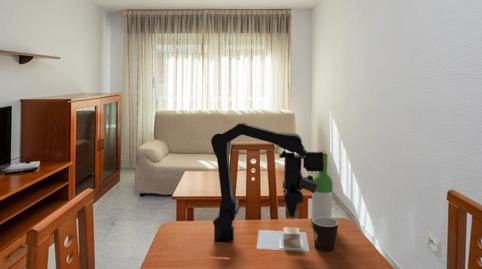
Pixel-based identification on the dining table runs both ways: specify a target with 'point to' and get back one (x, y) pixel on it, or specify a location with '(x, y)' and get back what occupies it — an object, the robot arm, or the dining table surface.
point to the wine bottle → (322, 194)
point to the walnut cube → (296, 214)
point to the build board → (279, 241)
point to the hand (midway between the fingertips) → (291, 213)
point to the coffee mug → (325, 233)
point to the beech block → (291, 237)
